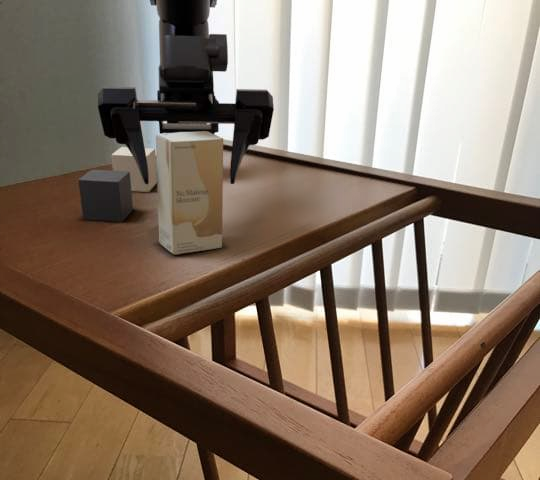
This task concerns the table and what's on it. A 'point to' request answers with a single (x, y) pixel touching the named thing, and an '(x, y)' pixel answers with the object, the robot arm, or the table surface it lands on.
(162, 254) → the table surface
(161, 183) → the cosmetic box
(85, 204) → the slate block
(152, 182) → the ivory block
